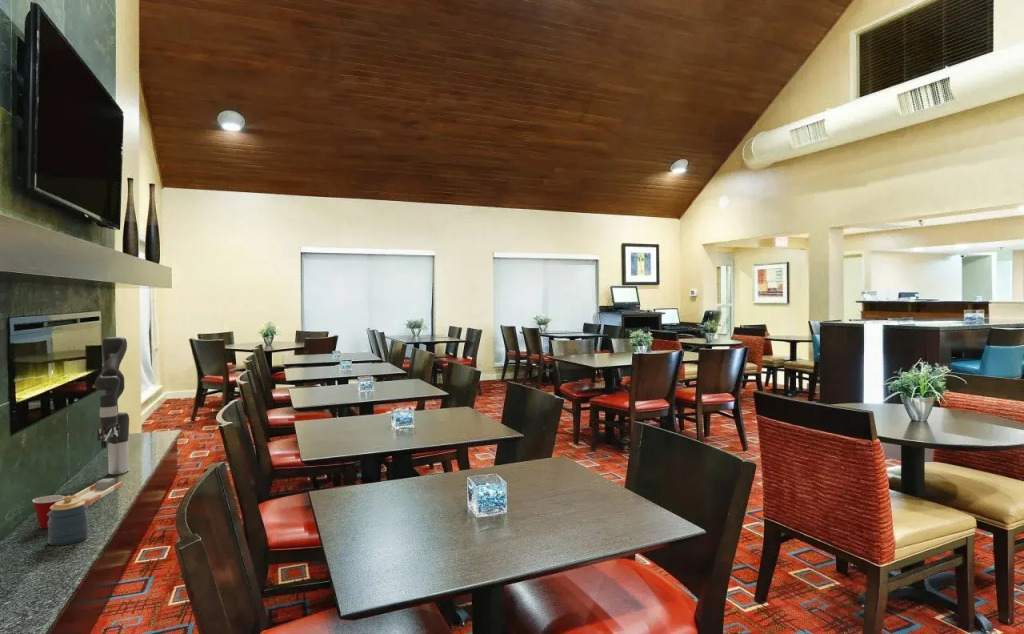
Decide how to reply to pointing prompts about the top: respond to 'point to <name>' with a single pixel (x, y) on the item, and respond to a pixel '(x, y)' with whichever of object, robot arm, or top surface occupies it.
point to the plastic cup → (45, 508)
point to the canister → (67, 521)
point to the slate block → (105, 483)
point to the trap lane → (94, 493)
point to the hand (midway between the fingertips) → (109, 446)
